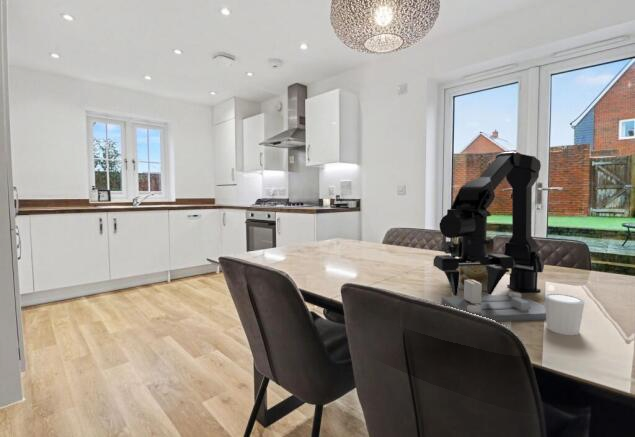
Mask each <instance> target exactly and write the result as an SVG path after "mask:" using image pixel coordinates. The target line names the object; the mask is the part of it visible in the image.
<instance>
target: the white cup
mask: <svg viewBox="0 0 635 437" xmlns="http://www.w3.org/2000/svg"><path fill="white" fill-rule="evenodd" d="M544 303H545V304H544V306H545V308H546V320H545V321H546V328H547V329H548V330H549V331H551V332H554V333H556V334H560V335H564V336H565V335H566V336H576V335H579V334H580V330H581V324H582V319H583V312H584V307H585V300H583V299H582V298H580V297H577V296H573V295H568V294H562V293H547V294H545V295H544Z"/></svg>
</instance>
